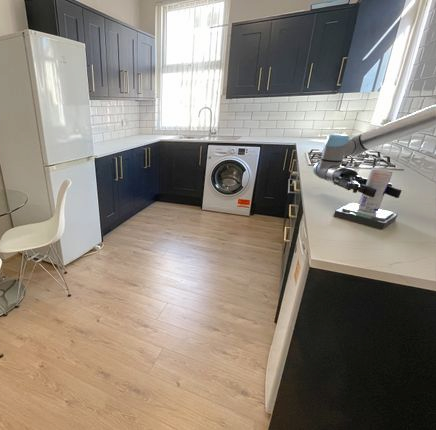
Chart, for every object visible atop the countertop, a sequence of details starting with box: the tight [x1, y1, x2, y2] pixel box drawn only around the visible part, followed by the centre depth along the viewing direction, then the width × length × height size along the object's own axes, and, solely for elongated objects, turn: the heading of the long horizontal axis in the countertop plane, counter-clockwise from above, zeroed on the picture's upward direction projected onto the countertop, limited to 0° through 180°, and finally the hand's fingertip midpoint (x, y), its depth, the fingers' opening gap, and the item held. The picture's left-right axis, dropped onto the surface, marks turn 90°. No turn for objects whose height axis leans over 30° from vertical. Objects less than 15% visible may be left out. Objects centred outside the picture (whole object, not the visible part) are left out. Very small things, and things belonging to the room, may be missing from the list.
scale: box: [333, 202, 399, 231], centre depth 101 cm, size 14×14×3 cm
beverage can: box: [358, 167, 394, 212], centre depth 98 cm, size 6×6×15 cm
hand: (386, 193), depth 93 cm, fingers open, 7 cm apart
